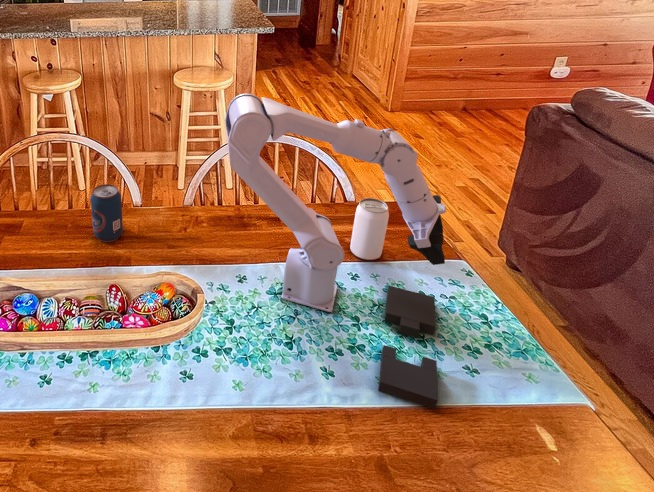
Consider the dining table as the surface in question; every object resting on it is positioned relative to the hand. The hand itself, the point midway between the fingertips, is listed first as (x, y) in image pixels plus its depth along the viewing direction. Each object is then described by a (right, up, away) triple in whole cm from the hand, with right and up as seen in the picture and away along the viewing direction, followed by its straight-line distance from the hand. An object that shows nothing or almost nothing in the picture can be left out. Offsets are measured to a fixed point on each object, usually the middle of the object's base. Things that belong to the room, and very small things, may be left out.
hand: (437, 247), depth 93 cm
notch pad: (-12, -19, -12) cm, 25 cm away
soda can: (-63, -3, +25) cm, 68 cm away
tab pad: (-5, -12, +1) cm, 13 cm away
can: (-6, -5, +18) cm, 19 cm away
